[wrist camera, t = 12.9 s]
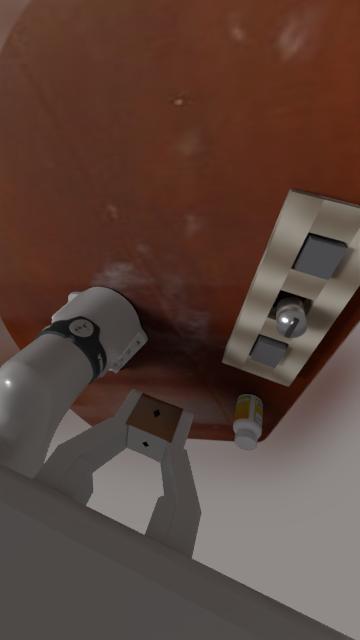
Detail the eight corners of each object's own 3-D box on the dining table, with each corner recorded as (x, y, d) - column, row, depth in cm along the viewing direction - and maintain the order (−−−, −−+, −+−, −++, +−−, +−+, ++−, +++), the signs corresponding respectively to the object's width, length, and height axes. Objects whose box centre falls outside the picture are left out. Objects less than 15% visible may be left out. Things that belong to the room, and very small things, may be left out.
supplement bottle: (234, 405, 55) (227, 445, 48) (241, 389, 52) (234, 430, 44) (258, 413, 54) (255, 456, 47) (266, 398, 51) (265, 441, 44)
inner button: (275, 349, 44) (275, 368, 40) (253, 341, 44) (250, 359, 41) (285, 331, 42) (286, 350, 38) (261, 323, 42) (260, 341, 38)
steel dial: (296, 321, 37) (299, 344, 32) (272, 313, 37) (271, 335, 33) (308, 301, 34) (313, 322, 30) (282, 293, 35) (283, 313, 31)
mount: (287, 370, 46) (288, 386, 43) (225, 348, 48) (221, 362, 45) (391, 213, 29) (405, 219, 26) (290, 187, 31) (291, 191, 28)
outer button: (322, 266, 34) (328, 280, 31) (293, 257, 35) (295, 270, 31) (338, 237, 32) (347, 249, 28) (307, 229, 33) (311, 239, 29)
